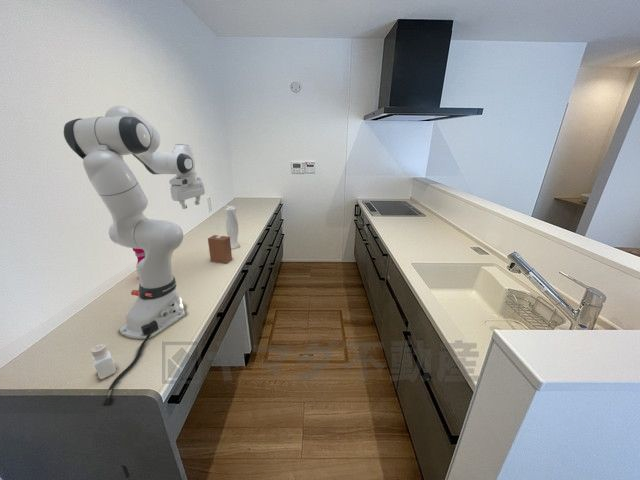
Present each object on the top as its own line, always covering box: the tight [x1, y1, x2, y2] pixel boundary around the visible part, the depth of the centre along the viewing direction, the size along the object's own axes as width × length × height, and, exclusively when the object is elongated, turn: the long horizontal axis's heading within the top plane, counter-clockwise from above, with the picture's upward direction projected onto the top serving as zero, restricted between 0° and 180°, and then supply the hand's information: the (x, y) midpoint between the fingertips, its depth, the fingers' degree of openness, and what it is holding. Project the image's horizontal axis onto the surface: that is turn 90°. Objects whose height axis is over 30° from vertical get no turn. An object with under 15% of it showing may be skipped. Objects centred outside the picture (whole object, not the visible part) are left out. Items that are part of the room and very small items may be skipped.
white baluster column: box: [222, 205, 241, 250], centre depth 166 cm, size 8×8×28 cm
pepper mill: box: [131, 248, 145, 271], centre depth 128 cm, size 7×7×20 cm
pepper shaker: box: [90, 343, 117, 380], centre depth 77 cm, size 4×4×10 cm
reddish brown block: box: [207, 234, 233, 264], centre depth 149 cm, size 6×15×10 cm
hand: (191, 206), depth 134 cm, fingers open, 8 cm apart
